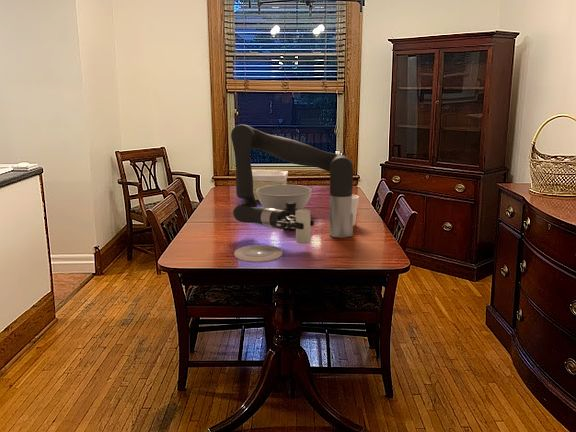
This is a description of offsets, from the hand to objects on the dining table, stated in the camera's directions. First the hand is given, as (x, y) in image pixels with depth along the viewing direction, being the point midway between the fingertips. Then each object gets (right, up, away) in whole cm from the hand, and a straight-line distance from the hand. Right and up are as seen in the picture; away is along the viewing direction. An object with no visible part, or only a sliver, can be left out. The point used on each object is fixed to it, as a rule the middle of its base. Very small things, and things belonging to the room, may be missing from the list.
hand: (308, 224), depth 208 cm
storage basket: (-20, +13, +95) cm, 98 cm away
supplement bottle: (-6, -3, +34) cm, 35 cm away
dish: (-19, -11, 0) cm, 22 cm away
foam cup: (+19, -1, +40) cm, 44 cm away
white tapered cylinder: (-2, -6, +3) cm, 7 cm away
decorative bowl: (-9, +4, +60) cm, 61 cm away
